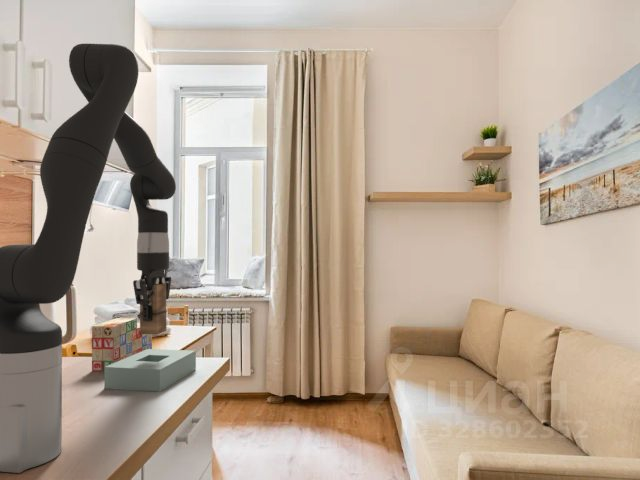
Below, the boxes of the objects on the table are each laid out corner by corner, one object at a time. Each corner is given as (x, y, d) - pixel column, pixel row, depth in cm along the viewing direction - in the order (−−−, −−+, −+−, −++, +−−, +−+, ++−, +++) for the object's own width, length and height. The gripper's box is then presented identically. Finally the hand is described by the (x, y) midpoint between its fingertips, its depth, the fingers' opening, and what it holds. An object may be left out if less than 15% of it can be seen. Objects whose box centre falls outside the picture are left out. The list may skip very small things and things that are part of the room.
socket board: (160, 391, 99) (160, 369, 99) (104, 388, 101) (104, 366, 101) (195, 369, 117) (195, 350, 117) (147, 367, 119) (147, 349, 119)
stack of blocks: (133, 352, 137) (133, 313, 137) (152, 352, 136) (152, 313, 136) (91, 371, 116) (91, 325, 116) (113, 372, 115) (113, 325, 115)
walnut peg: (156, 334, 106) (156, 285, 107) (139, 334, 107) (139, 285, 107) (166, 330, 111) (166, 283, 111) (150, 330, 112) (149, 283, 112)
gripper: (151, 251, 102) (151, 324, 101) (181, 250, 116) (181, 315, 116) (122, 251, 103) (122, 324, 103) (154, 250, 117) (155, 314, 117)
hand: (153, 318), depth 109 cm, fingers closed on walnut peg, 4 cm apart
